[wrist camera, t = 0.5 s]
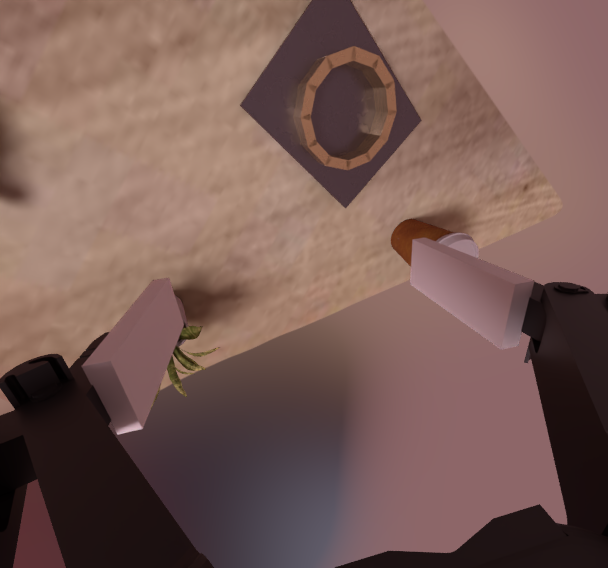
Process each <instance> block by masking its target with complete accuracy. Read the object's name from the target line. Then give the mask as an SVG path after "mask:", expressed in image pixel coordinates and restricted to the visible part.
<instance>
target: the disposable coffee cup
mask: <svg viewBox="0 0 608 568" xmlns="http://www.w3.org/2000/svg"><path fill="white" fill-rule="evenodd" d="M419 238H428V239H430V240H433V241H435V242H438V243H440V244H443V245H445V246H448V247H450V248H453V249H455V250H458V251H461V252H463V253H466V254H468V255H471V256H473V257H476V258H478V254H479V250H478V246H477V244H476V243H475V242H474V240H473V239H472V237H471V236H469V235H468V234H465V233H454V232H450V231H447V230H445V229H442V228H438V227H435V226H432V225H429V224H426V223H423V222H419V221H417V220H414V219H409V220H405V221H403V222H402V223H400V224H399V225H398V226H397V227H396V228H395V230H394V232H393V234H392V237H391V245H392V247H393V249H394V250H395V251H396V252H397V253H398V254H399V255H400V256H401V257H402V258H403V259H404V260H405V261H406V262H407V263H408V264H409V265H410V266H411V259H412V240H413V239H419Z"/></svg>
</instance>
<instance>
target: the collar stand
mask: <svg viewBox="0 0 608 568" xmlns="http://www.w3.org/2000/svg"><path fill="white" fill-rule="evenodd" d="M240 106H241V107H242V108H243V109H244V110H245V111H246V112H247V113H248V114H249V115H250V116H251V117H252V118H253V119H254V120H255V121H256V122H257V123H258V124H260V125H261V126H262V127H263V128H264V129H265V130H266V131H267V132H268V133H269V134H270V135H271V136H272V137H273V138H274V139H275V140H276V141H277V142H278V143H279V144H280V145H281V146H282V147H283V148H284V149H285V150H286V151H287V152H288V153H289V154H290V155H291V156H292V157H293V158H294V159H295V160H296V161H297V162H298V163H299V164H300V165H302V166H303V167H304V168H305V169H306V170H307V171H308V172H309V173H310V174H311V175H312V176H313V177H314V178H315V179H316V180H317V181H318V182H319V183H320V184H321V185H322V186H323V187H324V188H325V189H326V190H327V191H328V192H329V193H330V194H331V195H332V196H333V197H334V198H335V199H336V200H337V201H338V202H339V203H340V204H341V205H343V206H344V207H345V208H346V207H347V206H348V205H349V204H350V203H351V202H352V200H353V199H354V198H355V197H356V196H357V195H358V193H359V192H360V191H361V190H362V189H363V188H364V186H365V185H366V184H367V183H368V182H369V181H370V179H371V178H372V177H373V176H374V175H375V174H376V173H377V171H378V170H379V169H380V168H381V167H382V166H383V164H384V163H385V162H386V161H387V160H388V159H389V157H390V156H391V155H392V154H393V153H394V152H395V150H396V149H397V148H398V147H399V146H400V145H401V143H402V142H403V141H404V140H405V139H406V138H407V136H408V135H409V134H410V133H411V132H412V131H413V129H414V128H415V127H416V126H417V125H418V124H419V123H420V121H421V119H420V117H419V116H418V114H417V112H416V111H415V109H414V107H413V106H412V104H411V102H410V101H409V99H408V97H407V96H406V94H405V92H404V91H403V89H402V87H401V85H400V84H399V82H398V80H397V79H396V77H395V75H394V74H393V72H392V70H391V69H390V67H389V65H388V64H387V62H386V60H385V59H384V57H383V55H382V54H381V52H380V50H379V48H378V47H377V45H376V43H375V42H374V40H373V38H372V37H371V35H370V33H369V32H368V30H367V28H366V27H365V25H364V23H363V22H362V20H361V18H360V17H359V15H358V13H357V11H356V10H355V8H354V6H353V5H352V3H351V1H350V0H312V1H311V2H310V4H309V5H308V7H307V8H306V10H305V11H304V13H303V14H302V16H301V17H300V19H299V20H298V21H297V23H296V24H295V26H294V27H293V29H292V30H291V32H290V33H289V35H288V36H287V37H286V39H285V40H284V42H283V43H282V45H281V46H280V48H279V49H278V51H277V52H276V54H275V55H274V56H273V58H272V59H271V61H270V62H269V64H268V65H267V67H266V68H265V70H264V71H263V72H262V74H261V75H260V77H259V78H258V80H257V81H256V83H255V84H254V86H253V87H252V89H251V90H250V91H249V93H248V94H247V96H246V97H245V99H244V100H243V102H242V103H241V105H240Z"/></svg>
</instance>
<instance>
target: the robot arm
mask: <svg viewBox="0 0 608 568" xmlns="http://www.w3.org/2000/svg"><path fill="white" fill-rule="evenodd" d="M410 284H411V285H412V286H413V287H415V288H416V289H417V290H419V291H421V292H422V293H423V294H424V295H426V296H427V297H429V298H430V299H431V300H433V301H434V302H435V303H437V304H438V305H440V306H441V307H442V308H444V309H445V310H447V311H448V312H450V313H451V314H452V315H454V316H455V317H456V318H458V319H459V320H461V321H462V322H463V323H465V324H466V325H467V326H469V327H470V328H472V329H473V330H474V331H476V332H477V333H479V334H480V335H481V336H483V337H484V338H486V339H487V340H488V341H490V342H491V343H493V344H494V345H495V346H497V347H498V348H500V349H505V348H510V347H515V346H518V345H519V341H520V337H521V333H522V332H523V333H525V334H527V335H529V336H530V337H531V338H530V342H529V346H528V349H527V353H526V357H525V361H524V362H525V363H528V361H529V360H530V359H531V360H532V364H533V368H534V373H535V377H536V382H537V386H538V390H539V395H540V399H541V404H542V408H543V412H544V417H545V421H546V426H547V430H548V435H549V439H550V443H551V448H552V452H553V457H554V461H555V465H556V470H557V474H558V479H559V482H560V487H561V492H562V496H563V500H564V505H565V509H566V515H567V525H564V524H558V523H555V522H554V521H553V519H552V518H551V517H550V516H549V515H548V514H547V512H546V511H545V510H544V509H543V508H542V507H541V505H540V504H539V505H536V506H533V507H530V508H526V509H523V510H520V511H517V512H513V513H510V514H507V515H504V516H501V517H497V518H494V519H492V520H491V521H490V522H489V523H488V524H486V525H485V526H484V527H483V528H482V529H481V530H479V532H477V533H476V534H475V535H474V536H472V537H471V538H470V539H469V540H468V541H467V542H466V543H464V544H463V545H462V546H461V547H460V548H458V549H457V550H456V551H454V552H451V553H429V552H405V551H387V552H384V553H381V554H377V555H374V556H371V557H367V558H364V559H361V560H358V561H354V562H351V563H348V564H345V565H341V566H338V567H335V568H608V294H594V293H593V292H592V291H591V290H590V289H588V288H586V287H583V286H580V285H576V284H573V283H566V282H553V283H547V284H545V285H544V286H543V285H541V284H538V283H536V282H534V280H531V279H529V278H526V277H524V276H521V275H519V274H516V273H514V272H511V271H509V270H506V269H503V268H501V267H498V266H495V265H493V264H491V263H488V262H486V261H483V260H481V259H478V258H476V257H473V256H471V255H468V254H466V253H463V252H461V251H458V250H455V249H453V248H450V247H448V246H445V245H443V244H440V243H438V242H435V241H433V240H430V239H428V238H419V239H413V240H412V259H411V277H410ZM183 326H184V323H183V320H182V317H181V314H180V311H179V307H178V304H177V301H176V298H175V295H174V292H173V289H172V286H171V282H170V279H169V278H164V279H157V280H153V281H152V282H151V283H150V284H149V286H148V287H147V288H146V289H145V290H144V292H143V293H142V294H141V295H140V296H139V298H138V299H137V300H136V301H135V302H134V304H133V305H132V306H131V307H130V308H129V310H128V311H127V312H126V313H125V315H124V316H123V317H122V318H121V319H120V321H119V322H118V323H117V324H116V325H115V327H114V328H113V329H112V330H111V331H110V332H107V333H104V334H103V335H101V336H100V337H99V338H97V339H96V340H94V341H93V342H92V343H91V344H90V345H89V347H88V348H87V349H86V351H84V352H83V353H82V355H81V356H80V358H79V359H77V360H76V361H75V362H74V364H73V365H72V366H71V367H70V368H68V366H67V365H66V363H65V361H64V359H63V357H62V356H61V355H59V354H48V355H44V356H40V357H37V358H34V359H31V360H29V361H26V362H24V363H22V364H20V365H18V366H16V367H15V368H13V369H12V370H10V371H9V372H7V373H6V374H5V375H4V376H3V377H2V378H1V379H0V389H1V390H2V391H3V393H4V394H5V396H6V397H7V398H8V400H9V401H10V403H11V404H12V406H13V407H14V408H15V410H14V411H11V412H9V413H6V414H3V415H1V416H0V568H13V564H14V558H15V552H16V547H17V541H18V535H19V529H20V524H21V518H22V512H23V507H24V501H25V495H26V489H27V484H28V483H30V482H32V481H34V480H36V479H38V482H39V485H40V488H41V492H42V494H43V498H44V501H45V504H46V507H47V510H48V513H49V516H50V519H51V523H52V526H53V529H54V532H55V535H56V538H57V541H58V544H59V547H60V550H61V553H62V557H63V559H64V563H65V566H66V568H214V567H213V566H212V564H211V563H210V562H209V560H208V559H207V558H206V557H205V556H204V555H203V554H202V553H201V554H200V553H199V552H198V551H197V550H196V549H195V547H194V546H193V545H192V543H191V542H190V540H189V539H188V538H187V536H186V535H185V533H184V532H183V531H182V529H181V528H180V526H179V525H178V524H177V522H176V521H175V519H174V518H173V517H172V515H171V514H170V513H169V511H168V510H167V508H166V507H165V505H164V504H163V503H162V501H161V500H160V498H159V497H158V495H157V494H156V493H155V491H154V490H153V488H152V487H151V486H150V484H149V483H148V481H147V480H146V479H145V477H144V476H143V474H142V473H141V472H140V470H139V469H138V468H137V466H136V465H135V463H134V462H133V460H132V459H131V458H130V456H129V455H128V453H127V452H126V451H125V449H124V448H123V446H122V445H121V444H120V442H119V441H118V439H117V438H116V437H115V435H114V434H113V432H112V431H111V430H110V428H109V427H108V425H109V423H110V421H111V423H112V425H113V427H114V429H115V431H116V433H117V434H122V433H126V432H131V431H135V430H140V429H143V427H144V424H145V421H146V419H147V416H148V414H149V411H150V409H151V406H152V404H153V401H154V399H155V396H156V394H157V391H158V389H159V386H160V384H161V381H162V379H163V376H164V374H165V371H166V369H167V366H168V364H169V361H170V359H171V356H172V354H173V351H174V349H175V346H176V344H177V341H178V339H179V336H180V334H181V331H182V329H183Z"/></svg>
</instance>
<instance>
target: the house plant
mask: <svg viewBox="0 0 608 568" xmlns="http://www.w3.org/2000/svg"><path fill="white" fill-rule="evenodd" d="M175 298H176V301H177V304H178V307H179V311H180V314H181V317H182V320H183V323H184V326H183V329H182V331H181V334H180V336H179V339H178V341H177V344H176V346H175V349H174V351H173V354H174V356H175V357H176V358H177V360H178V361H179V362H180V363H181V364H182V365H183V366H184V367H185V368H186V369H188V370H192V371H195V370H196V371H198V370H205V368H204V367H202V366H199V365H198V364H197V363H196V362H195V361H193V360H192V359H190V358H189V357H187V356H186V355H184V354H183V352H182V351H181V350H182V349H181V350H180V348H179V346H180V345H182V344H183V343H184V342H185V341H186V339H188V340H190V339H196V338H197V337H198V336H199V334H200V332H201V329H202V327H203V326H202V327H201V326H200V327H196V326H189V327H188V323H187V319H186V315H185V311H184V307H183V303H182V301H181V300H180V299H179V298H178V297H177V296H176V295H175ZM218 348H219V347H218ZM218 348H215V349H212V350H209V351H206V352H202V353H188V352H187V353H188V354H191V355H193V356H200V357H201V356H205V355H207V354H209V353H212V352H214V351H215V350H217V349H218ZM183 351H184V350H183ZM185 352H186V351H185ZM79 357H80V356H79ZM167 370H168V373H169V377H170V380H171V382H172V383H173V385H174V386H175V388H176V389H177V390H178V391H179V392H180V393H181V394H183V395H184V396H186V393H185V391H184V390H183V388H182V384H181V381H180V379H179V377H178V375H177V373H176V370H177V371H178V372H180V373H182V374H194V373H186V372H182V371H180V370H178V369H177V368H176V367H175V365H174V361H173V357H172V356H171V359H170V361H169V364H168V366H167ZM160 385H161V384H160ZM159 390H160V386H159V389H158V391H157V394H156V396H155V399H154V401H155V400H156V398H157V395H158V393H159ZM186 397H187V396H186ZM154 401H153V403H154ZM152 405H153V404H152ZM151 408H152V406H151Z"/></svg>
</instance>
